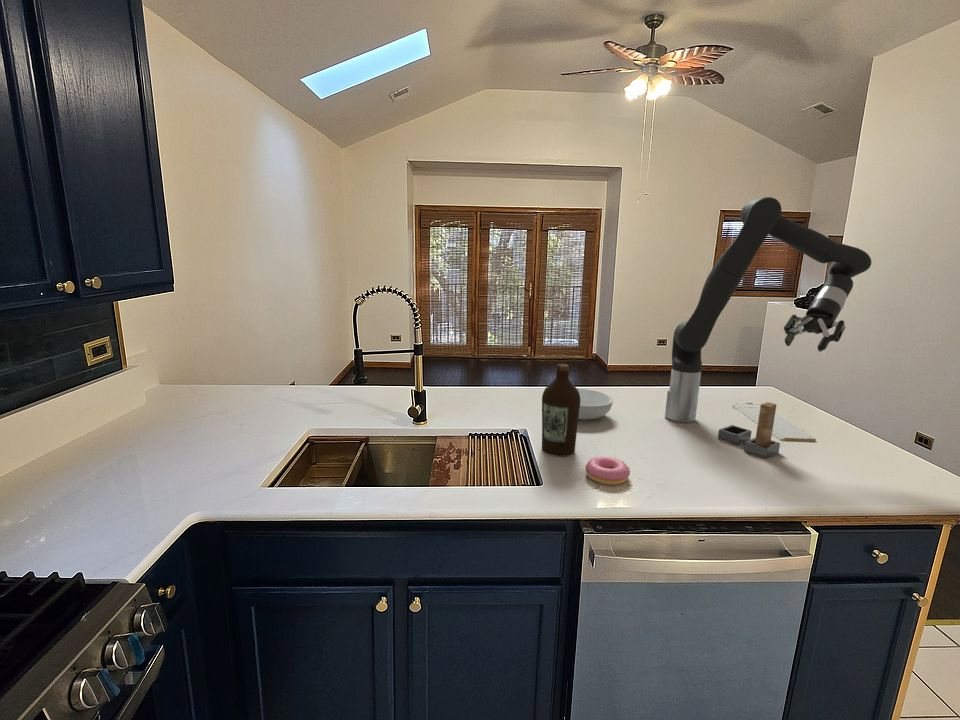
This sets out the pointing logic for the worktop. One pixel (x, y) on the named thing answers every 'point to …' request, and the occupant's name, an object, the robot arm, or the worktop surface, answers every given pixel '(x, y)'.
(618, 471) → the doughnut
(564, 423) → the olive oil
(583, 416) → the serving bowl
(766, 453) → the endcap
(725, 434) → the endcap
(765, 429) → the slat
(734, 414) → the worktop surface
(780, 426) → the baseboard
